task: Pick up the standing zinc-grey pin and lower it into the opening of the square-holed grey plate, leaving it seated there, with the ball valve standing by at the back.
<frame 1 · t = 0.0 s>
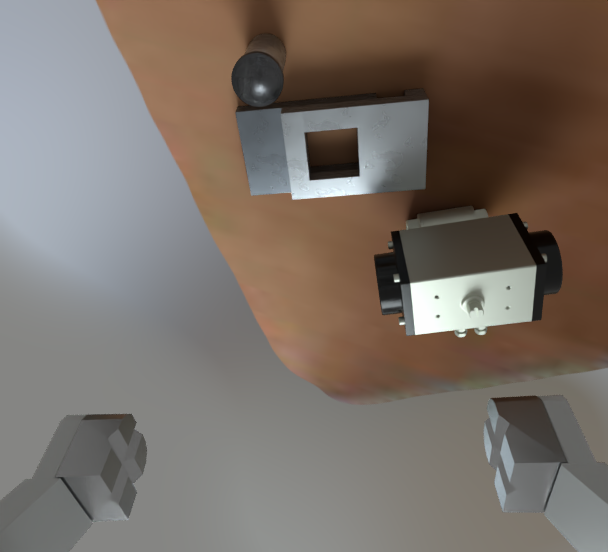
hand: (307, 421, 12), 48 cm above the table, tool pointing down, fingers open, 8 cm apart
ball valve: (443, 222, 64), on the table
pin: (266, 54, 52), on the table
square-holed grey plate: (332, 141, 58), on the table
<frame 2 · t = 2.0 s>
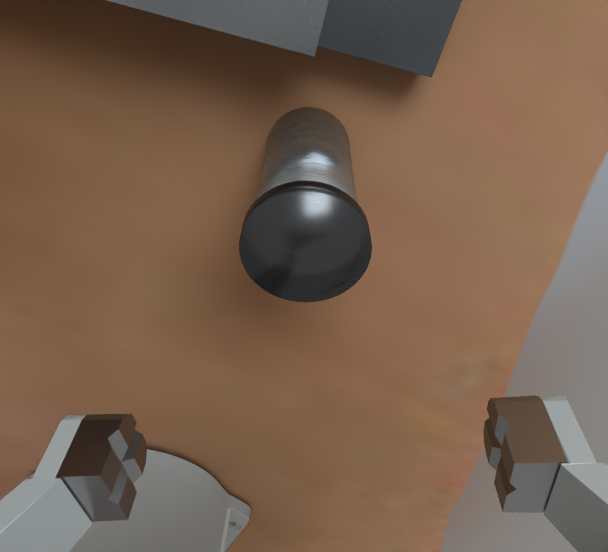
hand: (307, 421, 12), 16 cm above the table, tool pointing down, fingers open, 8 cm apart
pin: (308, 148, 25), on the table
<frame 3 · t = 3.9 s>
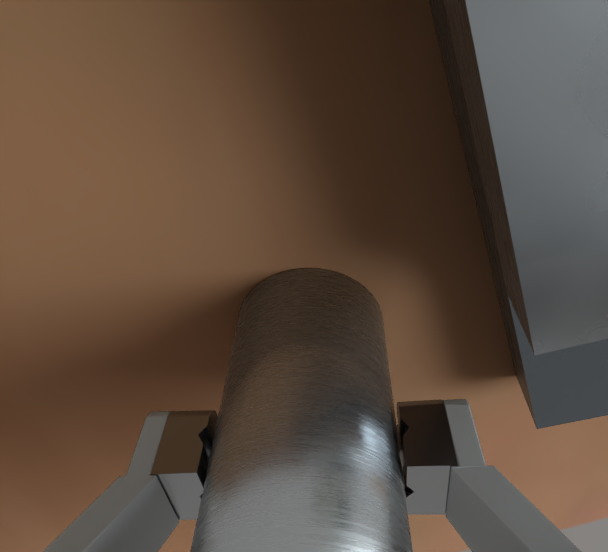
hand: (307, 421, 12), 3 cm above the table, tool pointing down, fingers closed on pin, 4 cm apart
pin: (310, 326, 14), on the table, touching gripper
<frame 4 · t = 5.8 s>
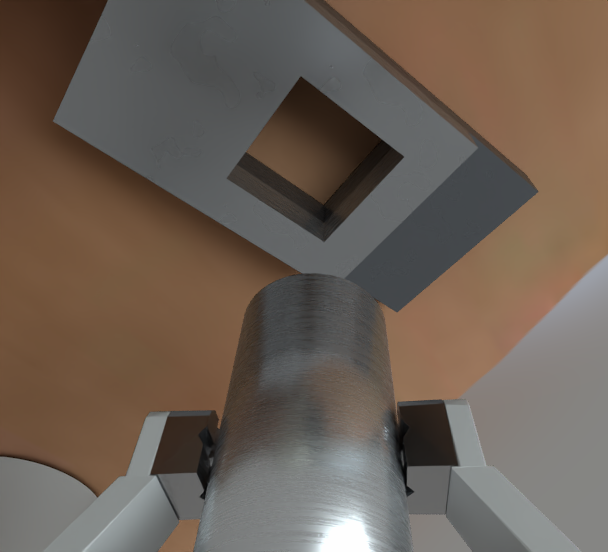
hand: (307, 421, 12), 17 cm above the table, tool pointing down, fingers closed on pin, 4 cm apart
pin: (314, 330, 14), point 14 cm above the table, touching gripper
square-holed grey plate: (314, 135, 25), on the table
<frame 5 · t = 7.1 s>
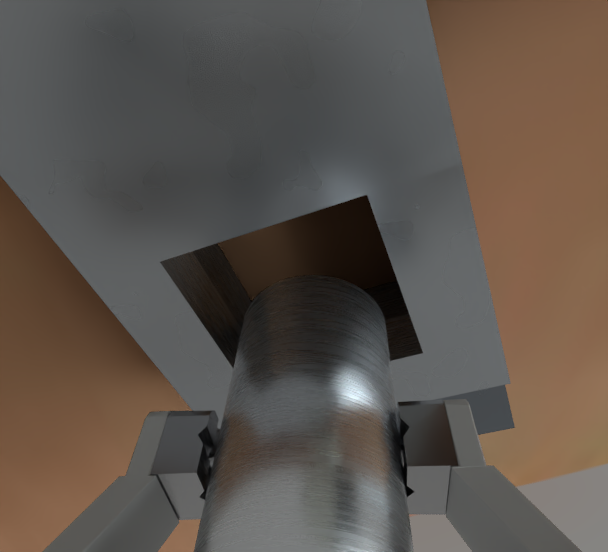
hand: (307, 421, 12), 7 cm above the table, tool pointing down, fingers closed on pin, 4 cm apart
pin: (314, 332, 14), point 4 cm above the table, touching gripper
square-holed grey plate: (303, 238, 17), on the table
when the fingers open (5 cm above the table, at t = 7.9 s): pin drops 1 cm, resting in square-holed grey plate.
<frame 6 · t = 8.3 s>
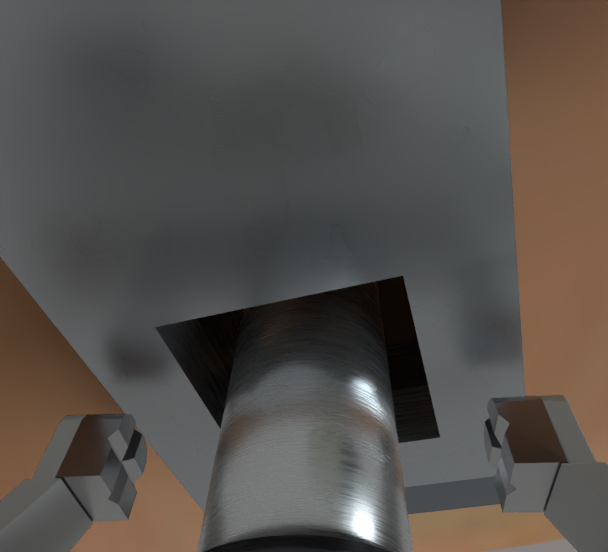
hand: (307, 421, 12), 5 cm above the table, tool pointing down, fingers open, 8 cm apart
pin: (312, 298, 15), resting in square-holed grey plate
square-holed grey plate: (312, 293, 15), on the table
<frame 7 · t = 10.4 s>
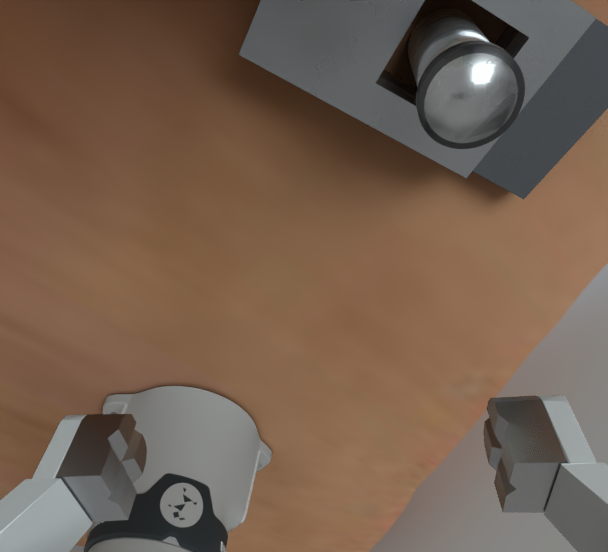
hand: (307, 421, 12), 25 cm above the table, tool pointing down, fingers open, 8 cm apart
pin: (442, 46, 30), resting in square-holed grey plate
square-holed grey plate: (440, 43, 30), on the table
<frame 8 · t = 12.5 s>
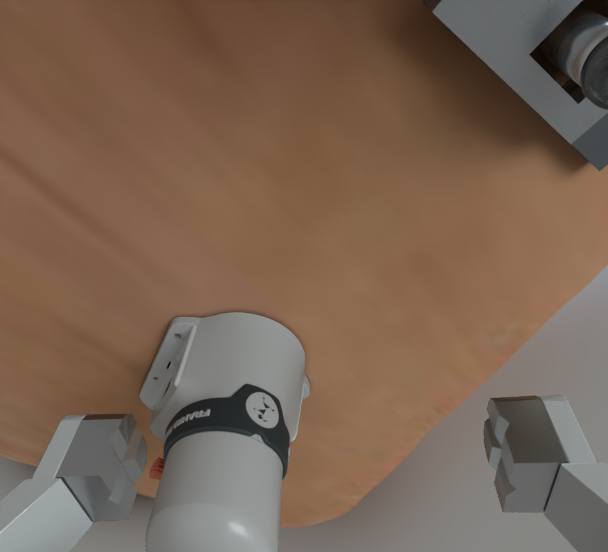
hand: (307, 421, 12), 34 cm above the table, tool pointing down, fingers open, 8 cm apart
pin: (570, 37, 38), resting in square-holed grey plate
square-holed grey plate: (569, 34, 38), on the table
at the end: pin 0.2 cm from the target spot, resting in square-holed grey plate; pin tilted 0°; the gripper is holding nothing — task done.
